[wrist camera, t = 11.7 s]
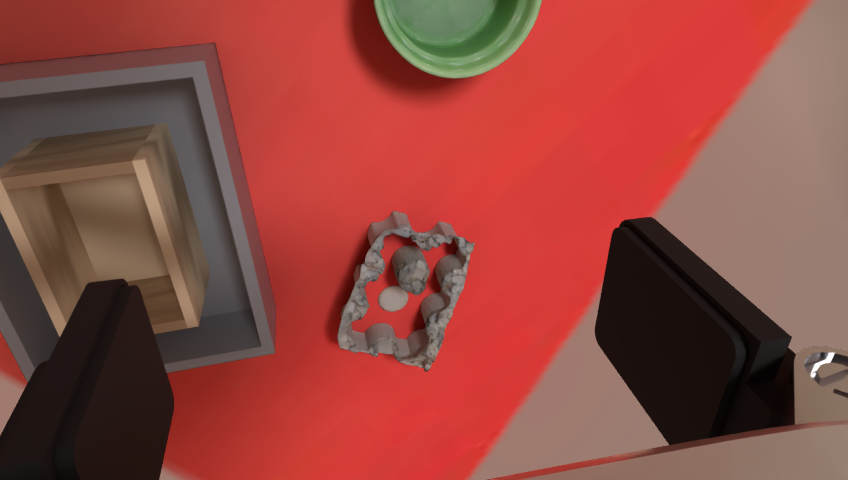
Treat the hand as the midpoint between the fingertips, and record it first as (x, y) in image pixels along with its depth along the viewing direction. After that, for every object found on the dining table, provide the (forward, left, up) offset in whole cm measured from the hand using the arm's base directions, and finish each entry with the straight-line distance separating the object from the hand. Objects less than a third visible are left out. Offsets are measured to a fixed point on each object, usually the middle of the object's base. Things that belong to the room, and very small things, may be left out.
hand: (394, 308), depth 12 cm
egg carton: (+16, +3, -26) cm, 31 cm away
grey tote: (+8, -13, -26) cm, 29 cm away
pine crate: (+7, -13, -25) cm, 29 cm away
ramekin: (-3, +7, -26) cm, 27 cm away
